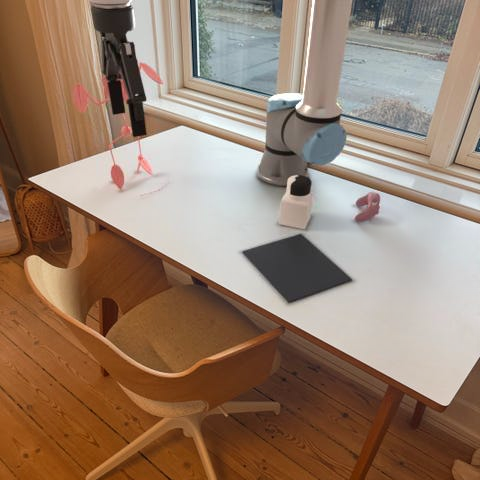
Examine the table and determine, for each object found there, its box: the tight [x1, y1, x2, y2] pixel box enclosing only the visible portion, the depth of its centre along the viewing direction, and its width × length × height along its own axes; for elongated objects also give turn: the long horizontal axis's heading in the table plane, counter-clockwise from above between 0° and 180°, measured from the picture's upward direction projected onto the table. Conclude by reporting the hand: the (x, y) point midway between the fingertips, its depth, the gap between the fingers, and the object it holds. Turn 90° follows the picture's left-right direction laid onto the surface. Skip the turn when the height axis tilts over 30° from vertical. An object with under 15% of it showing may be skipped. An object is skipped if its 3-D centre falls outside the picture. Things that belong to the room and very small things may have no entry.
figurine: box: [71, 59, 169, 197], centre depth 126 cm, size 15×26×35 cm, turn 138°
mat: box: [242, 233, 353, 304], centre depth 110 cm, size 17×21×1 cm
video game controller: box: [354, 190, 381, 223], centre depth 126 cm, size 10×5×7 cm, turn 168°
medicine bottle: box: [278, 175, 315, 230], centre depth 120 cm, size 7×7×12 cm
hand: (128, 124), depth 99 cm, fingers open, 13 cm apart
